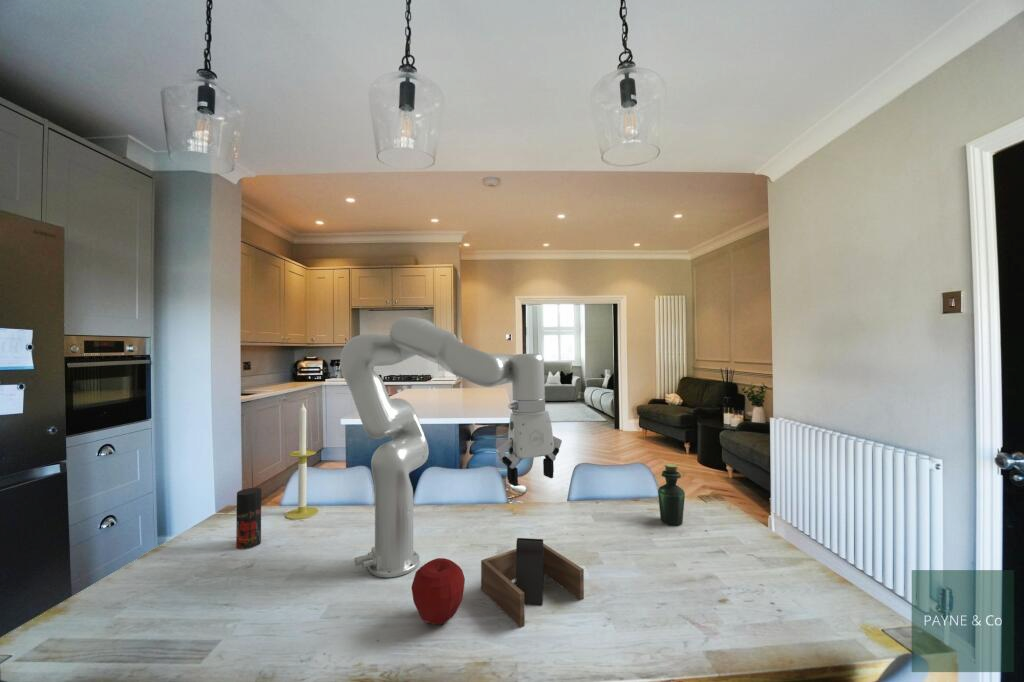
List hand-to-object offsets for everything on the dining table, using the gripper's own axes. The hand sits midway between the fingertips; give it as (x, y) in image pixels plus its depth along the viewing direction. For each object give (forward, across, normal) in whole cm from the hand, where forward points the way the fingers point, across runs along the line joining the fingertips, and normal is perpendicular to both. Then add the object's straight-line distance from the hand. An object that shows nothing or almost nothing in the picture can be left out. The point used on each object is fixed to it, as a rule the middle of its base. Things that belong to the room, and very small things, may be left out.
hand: (531, 480), depth 96 cm
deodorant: (+23, -58, +59) cm, 86 cm away
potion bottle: (+26, +58, +9) cm, 64 cm away
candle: (+23, -44, +76) cm, 91 cm away
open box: (+25, -2, -2) cm, 25 cm away
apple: (+24, -23, +1) cm, 33 cm away
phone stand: (+25, -2, -1) cm, 25 cm away
